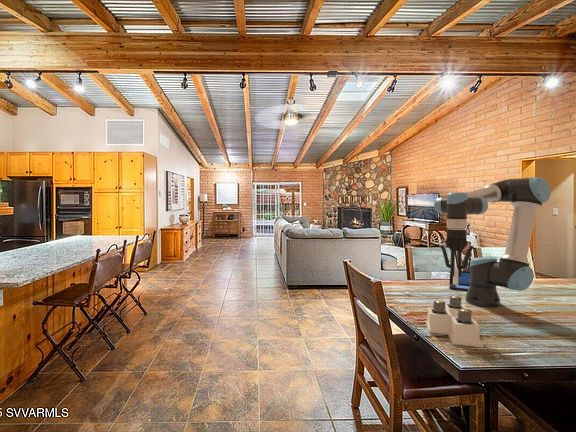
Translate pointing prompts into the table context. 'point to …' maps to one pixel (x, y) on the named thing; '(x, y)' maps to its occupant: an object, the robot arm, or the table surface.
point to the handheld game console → (461, 282)
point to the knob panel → (454, 327)
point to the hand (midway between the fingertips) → (455, 284)
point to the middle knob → (438, 307)
